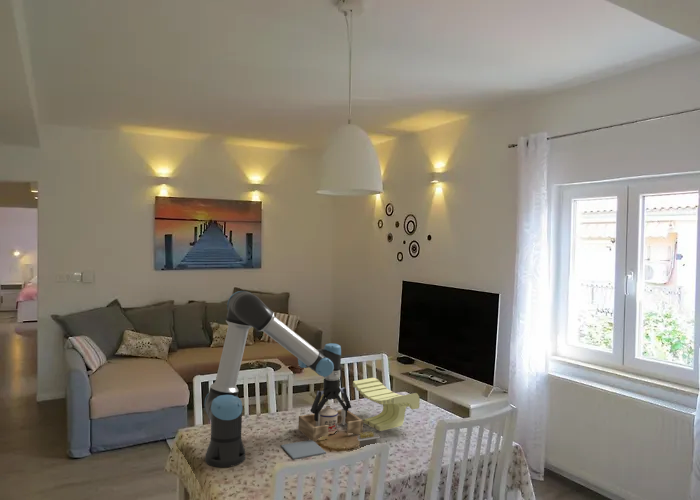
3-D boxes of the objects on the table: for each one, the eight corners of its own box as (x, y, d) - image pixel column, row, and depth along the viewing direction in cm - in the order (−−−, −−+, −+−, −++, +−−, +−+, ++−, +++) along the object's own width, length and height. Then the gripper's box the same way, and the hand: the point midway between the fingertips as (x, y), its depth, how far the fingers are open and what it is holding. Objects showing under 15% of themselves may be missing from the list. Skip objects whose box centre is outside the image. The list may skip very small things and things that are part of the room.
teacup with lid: (322, 436, 224) (322, 410, 224) (314, 429, 232) (315, 404, 232) (346, 433, 230) (347, 407, 229) (338, 426, 238) (338, 401, 237)
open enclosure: (312, 442, 218) (313, 428, 218) (298, 429, 233) (298, 415, 232) (362, 433, 229) (363, 420, 229) (346, 421, 244) (346, 409, 244)
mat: (293, 459, 200) (293, 458, 200) (281, 446, 213) (281, 444, 213) (325, 453, 207) (325, 452, 207) (312, 441, 219) (312, 439, 219)
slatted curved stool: (418, 430, 236) (419, 391, 236) (392, 437, 226) (394, 397, 226) (377, 411, 260) (378, 376, 260) (352, 417, 250) (353, 381, 250)
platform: (341, 445, 216) (342, 430, 216) (379, 440, 224) (379, 425, 224) (354, 457, 205) (354, 441, 205) (392, 450, 213) (393, 435, 213)
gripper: (310, 383, 222) (309, 432, 222) (359, 377, 233) (358, 424, 233) (303, 379, 228) (302, 427, 229) (351, 373, 239) (350, 419, 240)
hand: (330, 426), depth 231 cm, fingers closed on teacup with lid, 12 cm apart
